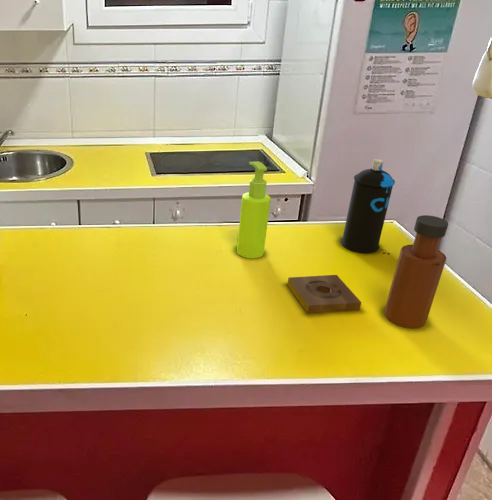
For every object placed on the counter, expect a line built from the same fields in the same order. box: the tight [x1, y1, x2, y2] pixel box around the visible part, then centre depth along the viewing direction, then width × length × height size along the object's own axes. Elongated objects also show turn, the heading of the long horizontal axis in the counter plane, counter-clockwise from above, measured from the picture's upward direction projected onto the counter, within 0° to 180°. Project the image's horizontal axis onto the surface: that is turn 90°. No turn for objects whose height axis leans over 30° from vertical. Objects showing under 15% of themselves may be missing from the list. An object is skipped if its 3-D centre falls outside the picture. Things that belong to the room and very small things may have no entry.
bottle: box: [383, 232, 448, 329], centre depth 89 cm, size 7×7×17 cm
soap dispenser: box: [236, 160, 272, 259], centre depth 111 cm, size 6×7×20 cm
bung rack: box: [286, 274, 362, 315], centre depth 98 cm, size 10×10×2 cm
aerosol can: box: [340, 158, 396, 254], centre depth 114 cm, size 8×8×20 cm
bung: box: [413, 214, 449, 239], centre depth 85 cm, size 5×5×4 cm
